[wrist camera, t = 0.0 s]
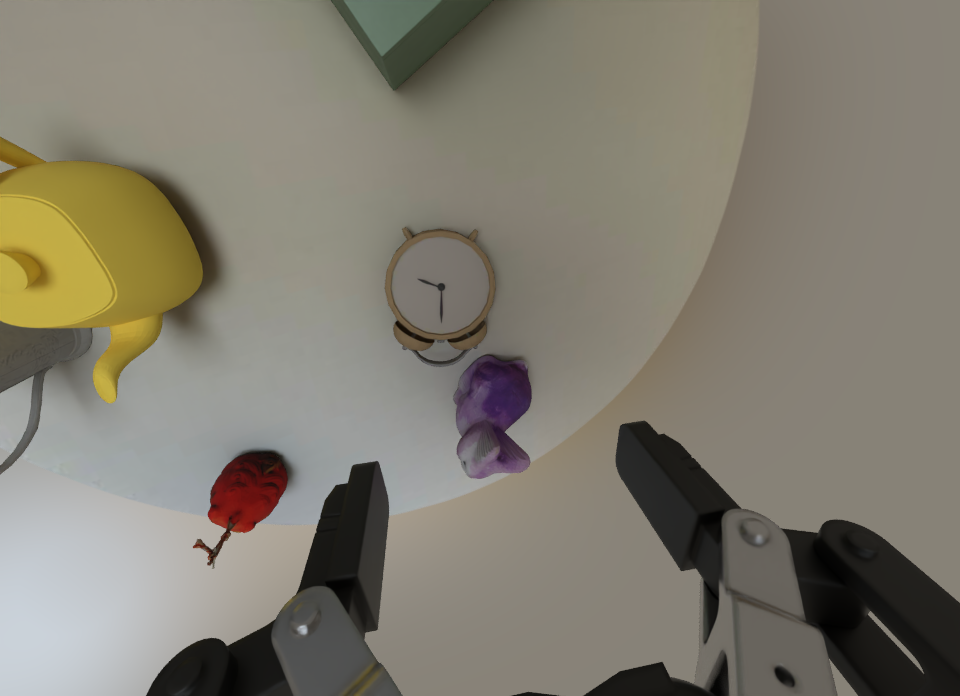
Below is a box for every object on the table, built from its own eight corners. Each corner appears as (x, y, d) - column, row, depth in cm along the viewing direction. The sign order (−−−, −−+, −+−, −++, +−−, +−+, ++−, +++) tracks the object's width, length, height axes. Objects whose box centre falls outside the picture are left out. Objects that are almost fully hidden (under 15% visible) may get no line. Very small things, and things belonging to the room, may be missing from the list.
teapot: (135, 354, 38) (19, 427, 27) (-20, 144, 29) (-286, 127, 18) (259, 325, 39) (195, 386, 28) (146, 110, 30) (-16, 75, 19)
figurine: (450, 421, 48) (460, 516, 35) (451, 353, 44) (464, 433, 31) (518, 418, 50) (553, 508, 36) (525, 352, 45) (569, 427, 32)
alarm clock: (498, 229, 35) (493, 372, 39) (489, 231, 40) (486, 359, 44) (381, 225, 34) (388, 376, 38) (386, 228, 38) (392, 361, 42)
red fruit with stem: (221, 472, 47) (140, 592, 33) (245, 436, 45) (170, 548, 32) (278, 493, 50) (225, 611, 36) (303, 460, 48) (257, 572, 34)
